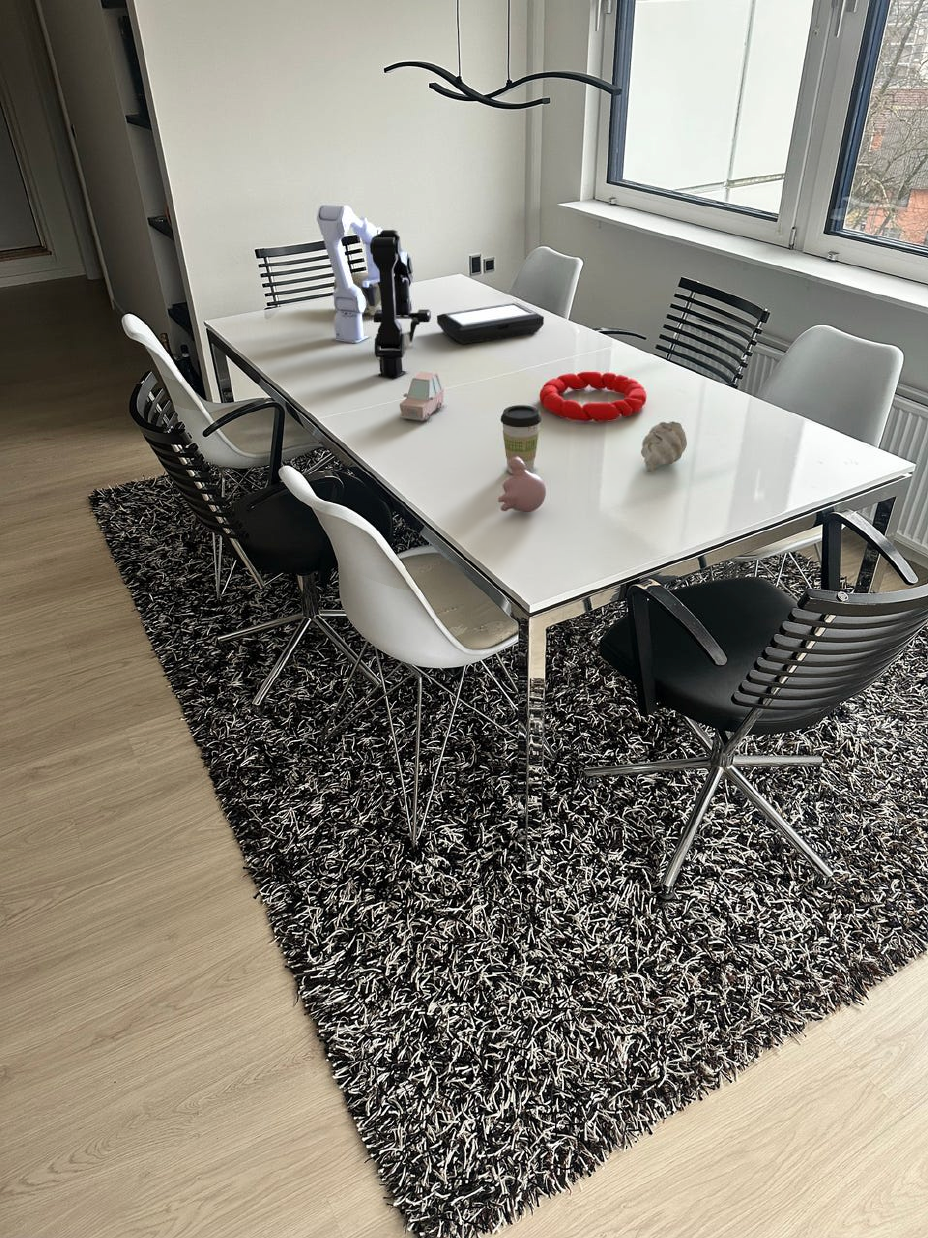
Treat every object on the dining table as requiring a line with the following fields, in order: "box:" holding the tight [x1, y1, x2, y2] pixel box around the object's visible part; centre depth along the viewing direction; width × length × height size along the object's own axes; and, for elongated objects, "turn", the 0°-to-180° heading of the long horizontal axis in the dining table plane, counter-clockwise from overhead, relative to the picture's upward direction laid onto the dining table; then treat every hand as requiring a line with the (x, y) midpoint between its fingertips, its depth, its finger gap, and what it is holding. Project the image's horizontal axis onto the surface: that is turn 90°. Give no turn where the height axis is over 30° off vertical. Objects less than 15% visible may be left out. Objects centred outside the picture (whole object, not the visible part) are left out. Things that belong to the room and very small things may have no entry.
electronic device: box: [436, 302, 545, 345], centre depth 312 cm, size 32×6×20 cm
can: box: [402, 329, 412, 348], centre depth 301 cm, size 5×5×4 cm
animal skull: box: [333, 271, 381, 316], centre depth 336 cm, size 17×25×20 cm
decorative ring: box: [539, 371, 647, 422], centre depth 253 cm, size 7×30×30 cm
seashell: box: [640, 421, 688, 473], centre depth 218 cm, size 10×15×10 cm
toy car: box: [399, 371, 445, 422], centre depth 250 cm, size 9×15×10 cm, turn 158°
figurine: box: [497, 457, 547, 513], centre depth 199 cm, size 9×11×12 cm
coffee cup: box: [499, 404, 543, 474], centre depth 216 cm, size 10×10×15 cm
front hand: (403, 341), depth 302 cm, fingers closed on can, 5 cm apart
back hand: (378, 303), depth 322 cm, fingers open, 7 cm apart
